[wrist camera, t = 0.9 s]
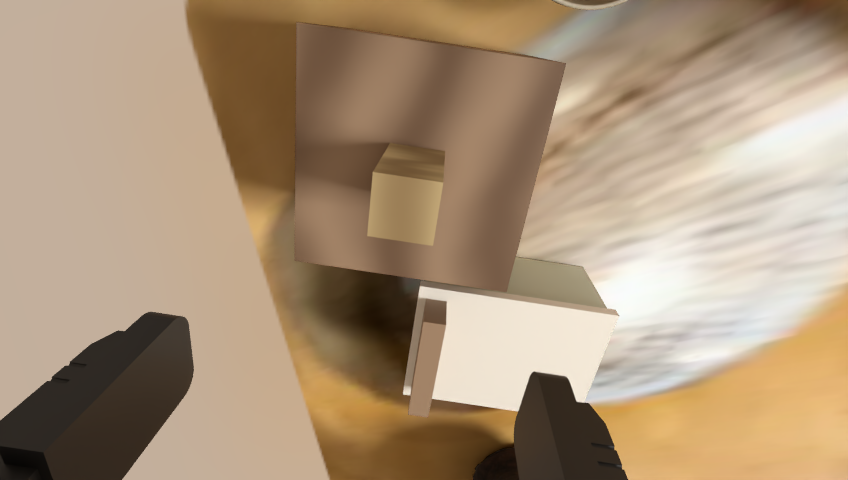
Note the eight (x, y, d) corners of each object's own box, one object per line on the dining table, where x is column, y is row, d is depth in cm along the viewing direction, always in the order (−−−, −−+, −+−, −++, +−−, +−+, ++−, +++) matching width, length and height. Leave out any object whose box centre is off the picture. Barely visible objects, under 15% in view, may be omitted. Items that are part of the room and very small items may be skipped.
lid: (615, 309, 33) (634, 341, 30) (574, 412, 38) (586, 450, 34) (420, 280, 33) (416, 308, 29) (403, 387, 38) (399, 422, 34)
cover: (530, 56, 32) (602, 71, 17) (492, 226, 39) (519, 352, 23) (345, 27, 32) (246, 16, 17) (335, 202, 38) (257, 312, 23)
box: (583, 266, 40) (607, 310, 33) (553, 354, 44) (570, 406, 38) (429, 243, 40) (425, 282, 33) (415, 333, 44) (409, 383, 38)
